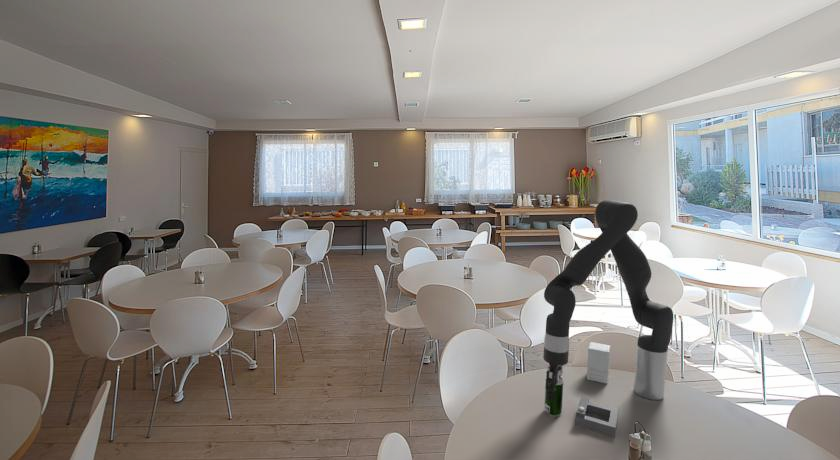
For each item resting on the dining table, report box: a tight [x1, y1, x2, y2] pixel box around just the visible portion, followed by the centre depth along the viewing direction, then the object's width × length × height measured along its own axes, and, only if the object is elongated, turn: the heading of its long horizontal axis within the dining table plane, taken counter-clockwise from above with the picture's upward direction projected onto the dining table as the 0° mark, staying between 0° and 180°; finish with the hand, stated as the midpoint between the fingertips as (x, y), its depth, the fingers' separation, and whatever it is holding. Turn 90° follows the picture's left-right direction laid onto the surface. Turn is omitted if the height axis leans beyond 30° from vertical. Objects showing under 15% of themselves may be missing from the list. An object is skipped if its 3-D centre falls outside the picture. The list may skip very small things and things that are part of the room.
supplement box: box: [586, 341, 611, 384], centre depth 150 cm, size 7×7×13 cm
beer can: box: [543, 376, 564, 418], centre depth 126 cm, size 5×5×12 cm
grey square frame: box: [575, 395, 619, 438], centre depth 122 cm, size 11×11×5 cm
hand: (553, 394), depth 126 cm, fingers open, 8 cm apart
